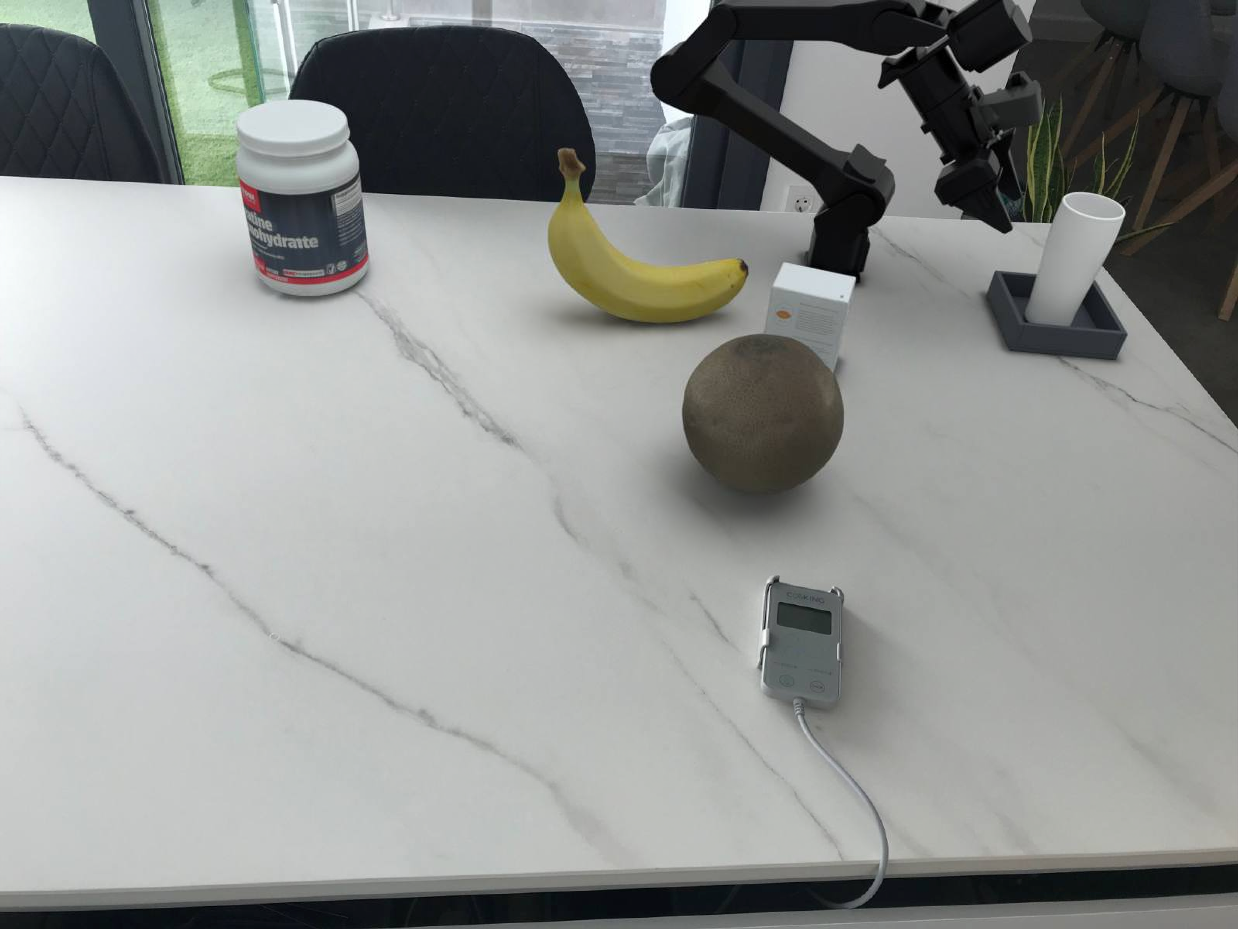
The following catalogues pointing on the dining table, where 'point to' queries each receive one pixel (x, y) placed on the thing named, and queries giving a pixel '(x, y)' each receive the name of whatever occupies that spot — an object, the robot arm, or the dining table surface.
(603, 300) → the banana
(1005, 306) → the tray
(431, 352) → the dining table surface
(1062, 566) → the dining table surface
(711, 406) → the cantaloupe
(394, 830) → the dining table surface
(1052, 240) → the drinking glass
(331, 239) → the supplement tub
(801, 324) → the small box
